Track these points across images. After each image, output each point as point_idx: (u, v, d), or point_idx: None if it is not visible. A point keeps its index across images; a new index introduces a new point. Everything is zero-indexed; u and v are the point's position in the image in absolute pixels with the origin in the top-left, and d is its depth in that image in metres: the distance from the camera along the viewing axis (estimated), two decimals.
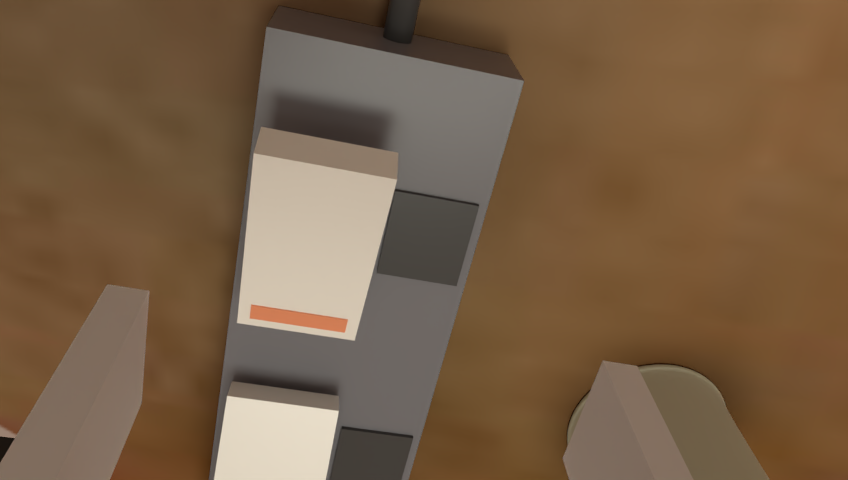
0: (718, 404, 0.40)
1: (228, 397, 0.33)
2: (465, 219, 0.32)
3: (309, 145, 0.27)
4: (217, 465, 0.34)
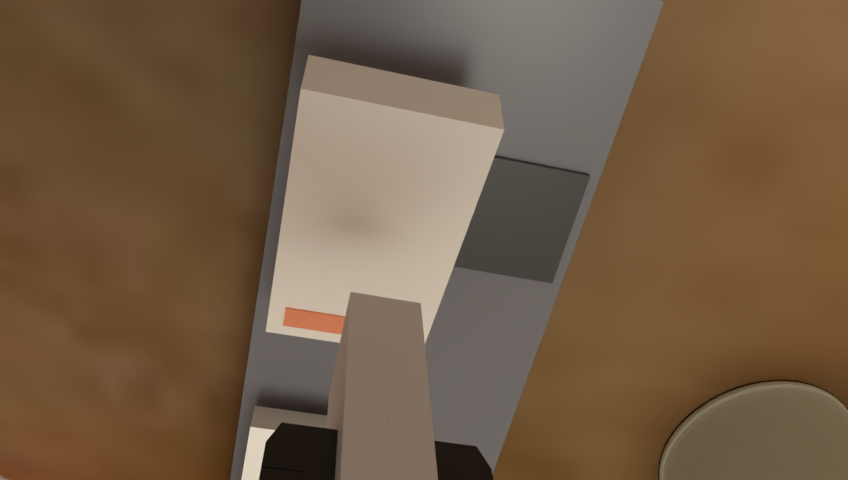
0: None
1: (251, 428, 0.25)
2: (570, 194, 0.24)
3: (376, 80, 0.19)
4: None
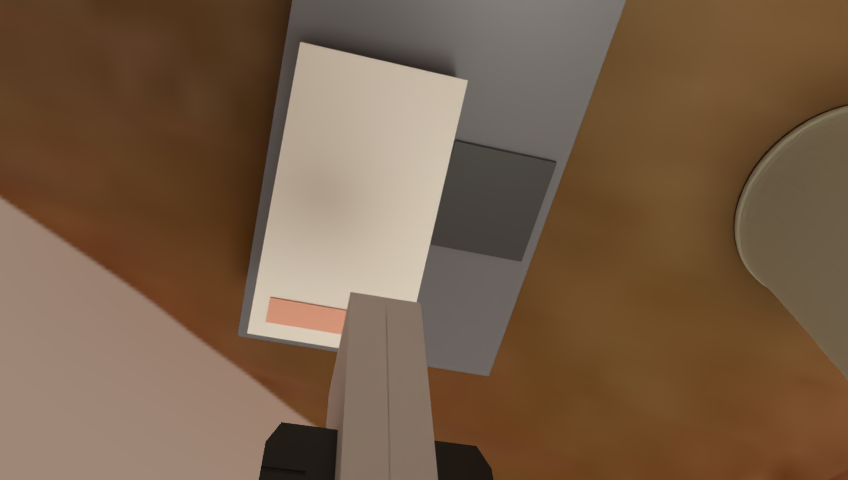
0: None
1: (302, 44, 0.22)
2: None
3: None
4: (280, 159, 0.22)
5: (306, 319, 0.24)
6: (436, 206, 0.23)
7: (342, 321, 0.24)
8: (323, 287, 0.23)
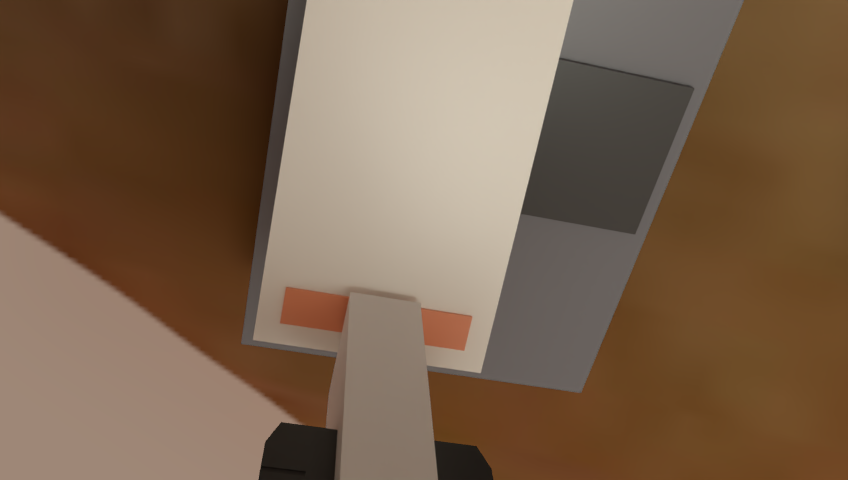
0: None
1: None
2: None
3: None
4: (297, 76, 0.14)
5: (339, 318, 0.16)
6: (533, 148, 0.15)
7: None
8: (364, 271, 0.16)
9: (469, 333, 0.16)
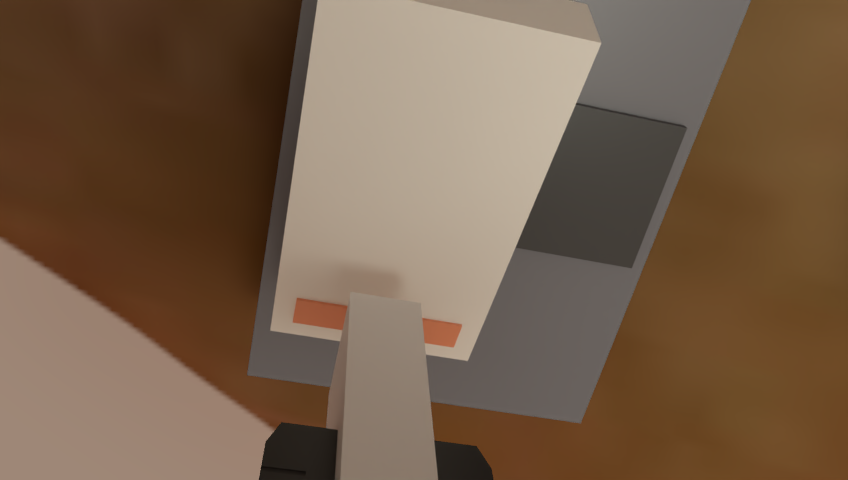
0: None
1: None
2: None
3: None
4: (299, 146, 0.15)
5: None
6: (528, 209, 0.16)
7: None
8: (365, 290, 0.17)
9: (459, 336, 0.18)
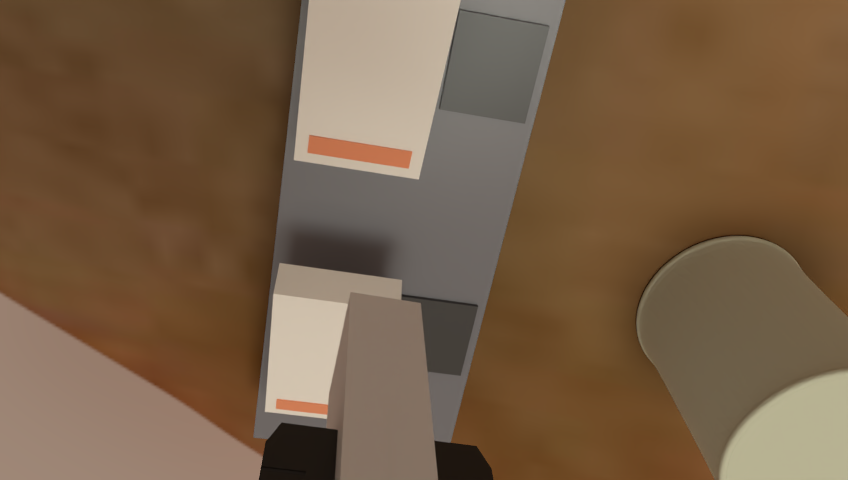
0: (802, 272, 0.37)
1: (275, 295, 0.29)
2: (534, 43, 0.30)
3: None
4: (271, 344, 0.32)
5: (302, 408, 0.35)
6: None
7: (326, 409, 0.35)
8: (311, 395, 0.35)
9: None
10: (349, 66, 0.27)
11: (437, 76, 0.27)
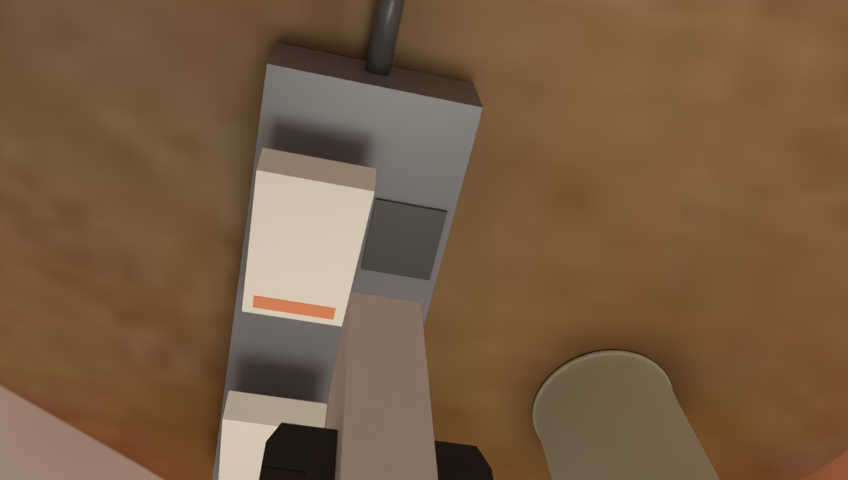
0: (662, 384, 0.46)
1: (223, 420, 0.37)
2: (436, 223, 0.38)
3: (302, 162, 0.32)
4: (221, 450, 0.39)
5: None
6: None
7: None
8: None
9: None
10: (284, 253, 0.35)
11: (353, 261, 0.35)
